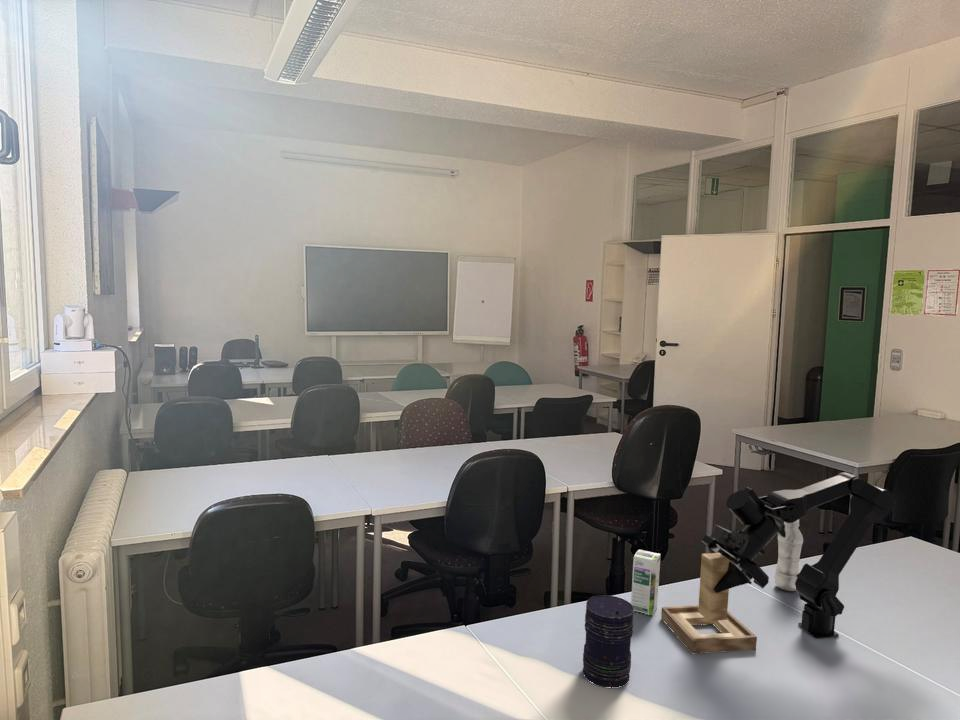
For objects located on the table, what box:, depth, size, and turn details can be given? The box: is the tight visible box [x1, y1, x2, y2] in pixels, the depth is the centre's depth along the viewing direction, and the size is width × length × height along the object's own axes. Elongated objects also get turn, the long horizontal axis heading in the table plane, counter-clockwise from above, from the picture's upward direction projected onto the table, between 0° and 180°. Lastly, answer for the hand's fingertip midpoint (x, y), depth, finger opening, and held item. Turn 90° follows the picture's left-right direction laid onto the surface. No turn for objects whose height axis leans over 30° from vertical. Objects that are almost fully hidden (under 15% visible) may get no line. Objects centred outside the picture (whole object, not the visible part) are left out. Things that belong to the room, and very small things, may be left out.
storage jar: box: [582, 594, 635, 689], centre depth 133 cm, size 10×10×15 cm
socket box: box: [660, 604, 758, 654], centre depth 152 cm, size 16×16×3 cm
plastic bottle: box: [773, 519, 804, 592], centre depth 177 cm, size 6×7×20 cm
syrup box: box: [630, 549, 661, 616], centre depth 162 cm, size 6×6×14 cm
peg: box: [698, 552, 732, 621], centre depth 147 cm, size 4×4×14 cm
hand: (708, 586), depth 147 cm, fingers closed on peg, 4 cm apart
